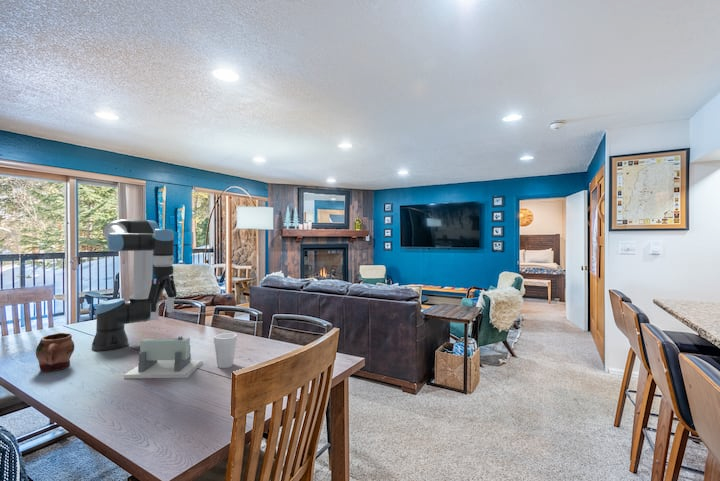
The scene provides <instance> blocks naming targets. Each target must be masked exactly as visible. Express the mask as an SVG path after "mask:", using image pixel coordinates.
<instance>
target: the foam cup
mask: <svg viewBox="0 0 720 481" xmlns="http://www.w3.org/2000/svg"><path fill="white" fill-rule="evenodd" d="M237 336H238V334H236V333H232V332H225V333H219V334H216V335H214V336H213V343H214V350H215V357H216V364H217V368H220V369H228V368H230V367H232V366H234V359H235V353H236V345H237V341H238V340H237V338H238V337H237Z"/></svg>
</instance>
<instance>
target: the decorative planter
mask: <svg viewBox="0 0 720 481" xmlns="http://www.w3.org/2000/svg"><path fill="white" fill-rule="evenodd" d="M72 338H73V335H72V334H71V333H70V332H69V333H67V332H66V333H65V332H58V333H54V334H48V335H45V336H44V337H42V338H40V340H39V343H38V345H37V347H36V349H35V356H36V359H37V361H38V366H39V370H40V371H41V372H42V373H48V372H56V371H60V370H63V369H66V368H67V367H69V366H70V365H71V360H70V359H71V356H72V355H73V353H74V351H75V342H74V341H73V339H72Z"/></svg>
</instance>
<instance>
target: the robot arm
mask: <svg viewBox="0 0 720 481" xmlns="http://www.w3.org/2000/svg"><path fill="white" fill-rule="evenodd" d="M102 234H103V236H104V238H105V239H106V240H107V241H106V244H107V249H108V251H111V252H126V251H127V252H128V251H131V252H133V282H132V283H133V286H132V288H133V289H132V290H133V291H132V295H130V296H129V300H125V298H114V299H108V300H105V301H101V302H100V303H98V304H97V306H96V324H95V325H96V328H95V329H96V333H95V335H94V338H93V341H92V343H91V350H93V351H98V352H99V351H101V352H102V351H112V350H116V349H117V350H118V349H121V348H124V347H126V346H128V345H129V338H128V336H127V332H126V330H125V325H127V324H133V323H134V324H135V323H143V322H145V323H147V322H149V321H156V320H157V321H158V320H159V312H160V311H159V307H160V305H159V304H160V302H159V300H160V296H161V294H162V291H163V290H164V292H165V293H166V296H167V297H166V313H174V312H175V298H177V295H178V294H177V293H178V292H177V289H176V285H175V281H174V280H175V278H174V260H175V258H174V250H175V248H174V246H175V243H174V242H175V235H174V234H175V233H174V230H173V229H169V228H168V229H163V228H160V227H159V224H158V222H156V221H155V220H148V219H127V218H126V219H123V218H122V219H117V220H112V221H110V222H108V223H107V224H105V226H104V227H103V230H102ZM153 276H155V277H156V278H153Z"/></svg>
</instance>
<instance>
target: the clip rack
mask: <svg viewBox="0 0 720 481" xmlns="http://www.w3.org/2000/svg"><path fill="white" fill-rule="evenodd" d="M138 356H139V357H138V363H137V364H138V365H137V366H135V367H133V369H131V370H129V371H127V372H126V373H124V374H123V378H124V379H173V378H174V379H175V378H176V379H178V378H179V379H180V378H181V379H185V378H186V379H187V378H188V377H189V376H190V375H191V374H192V373H194V372H195V371H196V370H197V369H198V368H199V367H200V366H201V365H202V364H203V360H202V359H191V357H192V355H191V353H190V354H189V357H188V358H187V359H186V360H182V352H175V360H148V361H146V352H140V351H139V353H138Z"/></svg>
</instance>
